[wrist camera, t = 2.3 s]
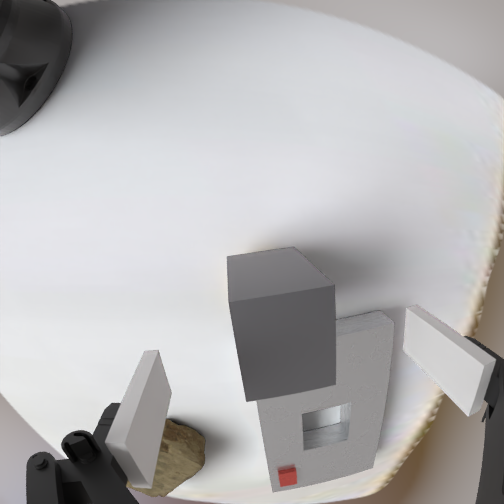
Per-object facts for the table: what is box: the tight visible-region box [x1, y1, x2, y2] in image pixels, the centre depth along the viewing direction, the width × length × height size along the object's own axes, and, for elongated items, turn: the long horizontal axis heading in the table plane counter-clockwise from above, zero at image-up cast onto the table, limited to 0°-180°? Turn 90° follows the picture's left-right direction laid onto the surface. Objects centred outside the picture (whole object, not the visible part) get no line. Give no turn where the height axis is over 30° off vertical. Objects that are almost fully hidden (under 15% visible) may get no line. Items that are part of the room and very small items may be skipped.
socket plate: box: [256, 310, 395, 492], centre depth 28 cm, size 22×13×4 cm, turn 7°
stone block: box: [126, 419, 205, 497], centre depth 27 cm, size 6×12×5 cm, turn 144°
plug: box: [227, 247, 336, 402], centre depth 20 cm, size 6×5×12 cm
